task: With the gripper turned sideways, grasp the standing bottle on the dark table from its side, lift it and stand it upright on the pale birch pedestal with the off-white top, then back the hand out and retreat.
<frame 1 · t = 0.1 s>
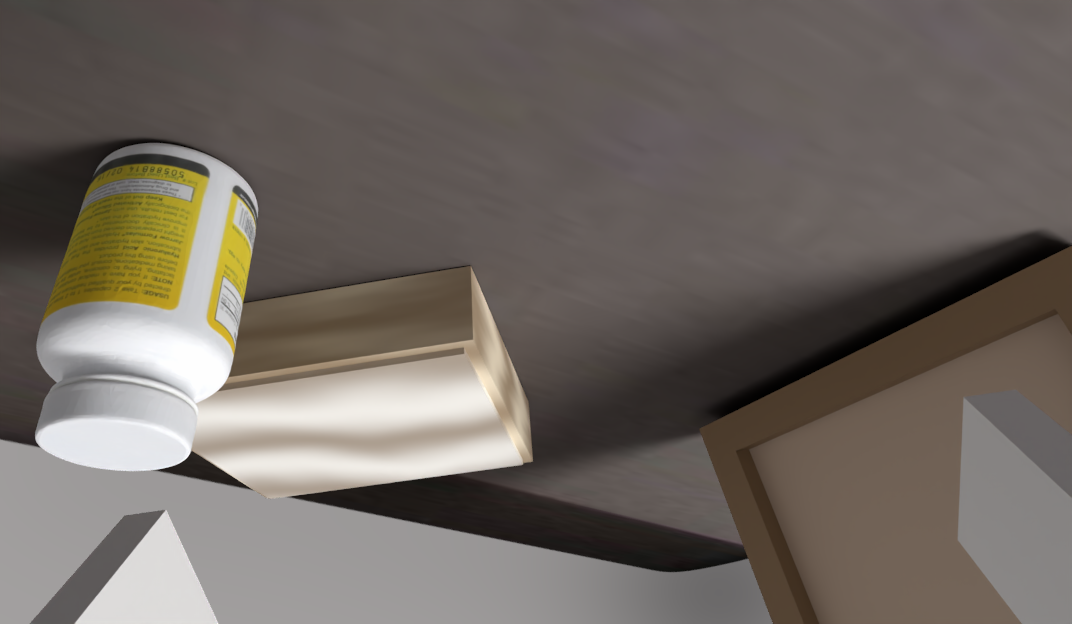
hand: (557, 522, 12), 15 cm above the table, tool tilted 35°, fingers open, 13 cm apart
photo frame: (914, 365, 43), on the table
pedestal: (354, 367, 37), on the table
supplement bottle: (182, 188, 26), on the table
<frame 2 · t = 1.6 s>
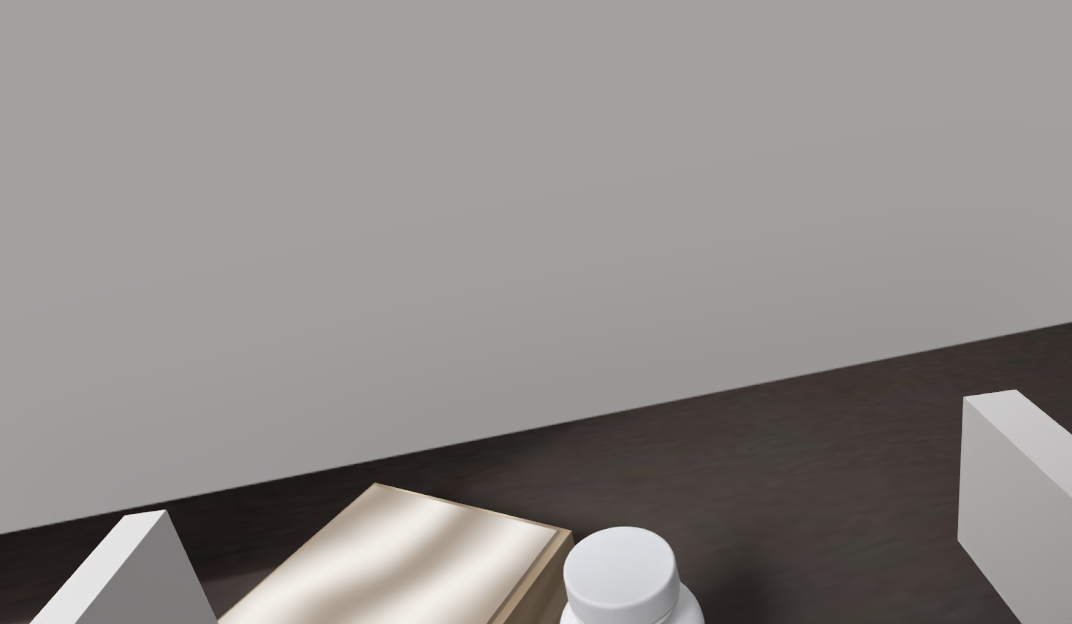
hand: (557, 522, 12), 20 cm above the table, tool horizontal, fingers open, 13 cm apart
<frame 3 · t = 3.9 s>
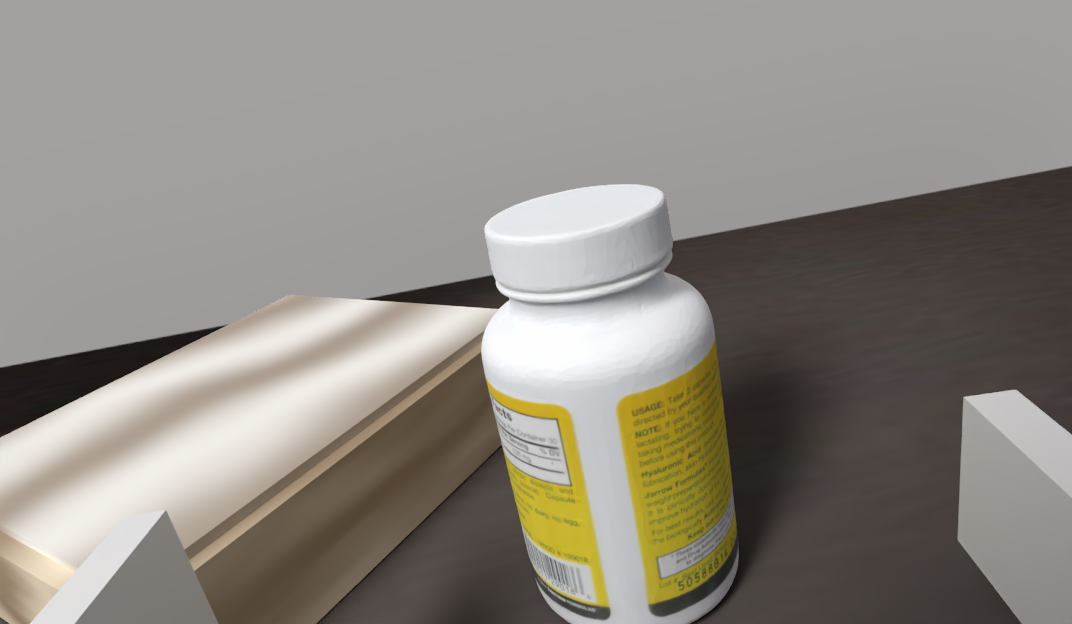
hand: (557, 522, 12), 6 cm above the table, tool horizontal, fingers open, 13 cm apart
pedestal: (275, 483, 26), on the table
supplement bottle: (636, 569, 19), on the table
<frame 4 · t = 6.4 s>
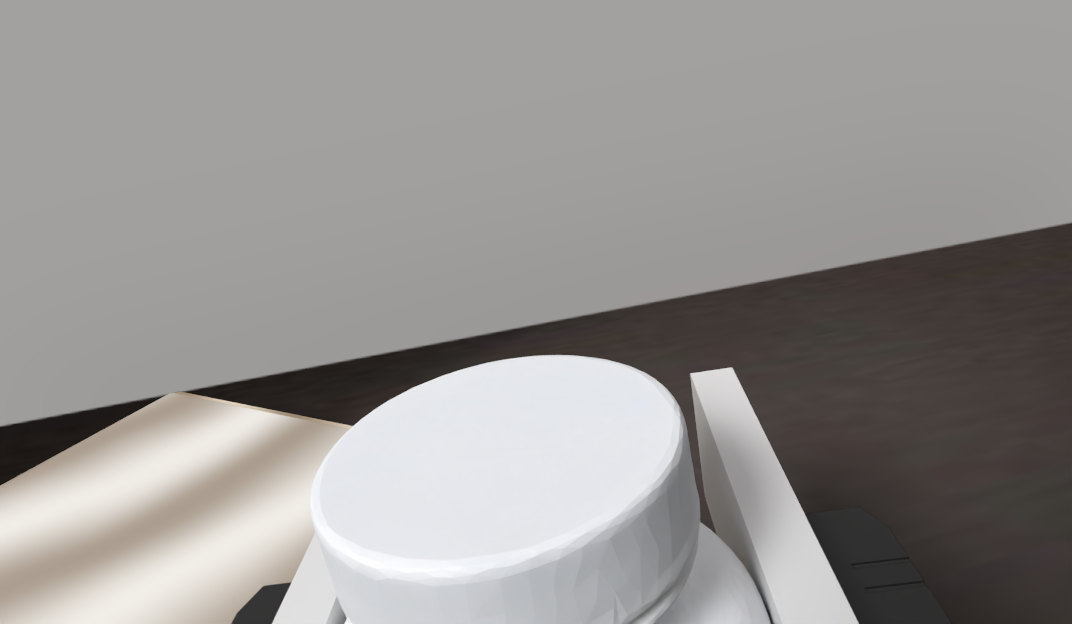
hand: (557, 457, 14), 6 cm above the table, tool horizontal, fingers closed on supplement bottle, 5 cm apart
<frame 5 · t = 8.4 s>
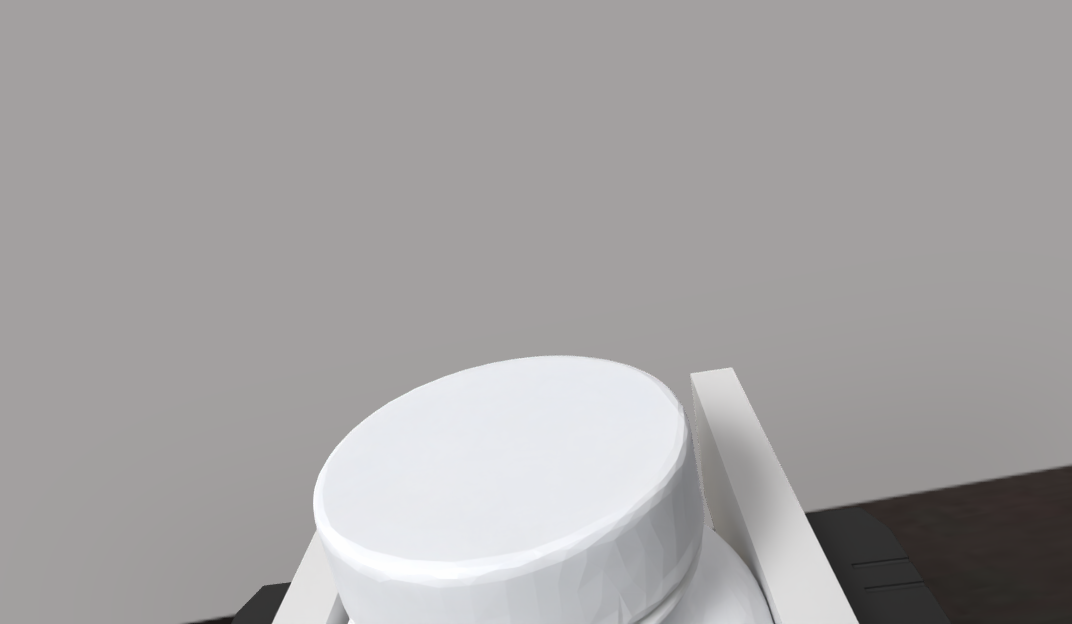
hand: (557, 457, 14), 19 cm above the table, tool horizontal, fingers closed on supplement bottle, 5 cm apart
when the fingers open (11 cm above the table, at t = 10.7 s): supplement bottle drops 1 cm, resting on pedestal.
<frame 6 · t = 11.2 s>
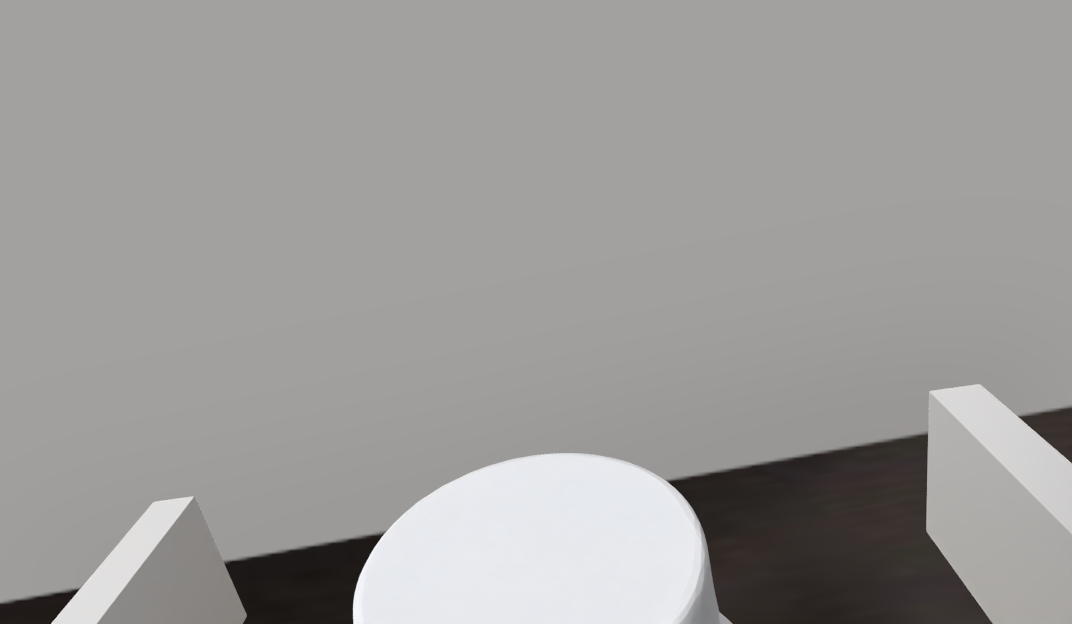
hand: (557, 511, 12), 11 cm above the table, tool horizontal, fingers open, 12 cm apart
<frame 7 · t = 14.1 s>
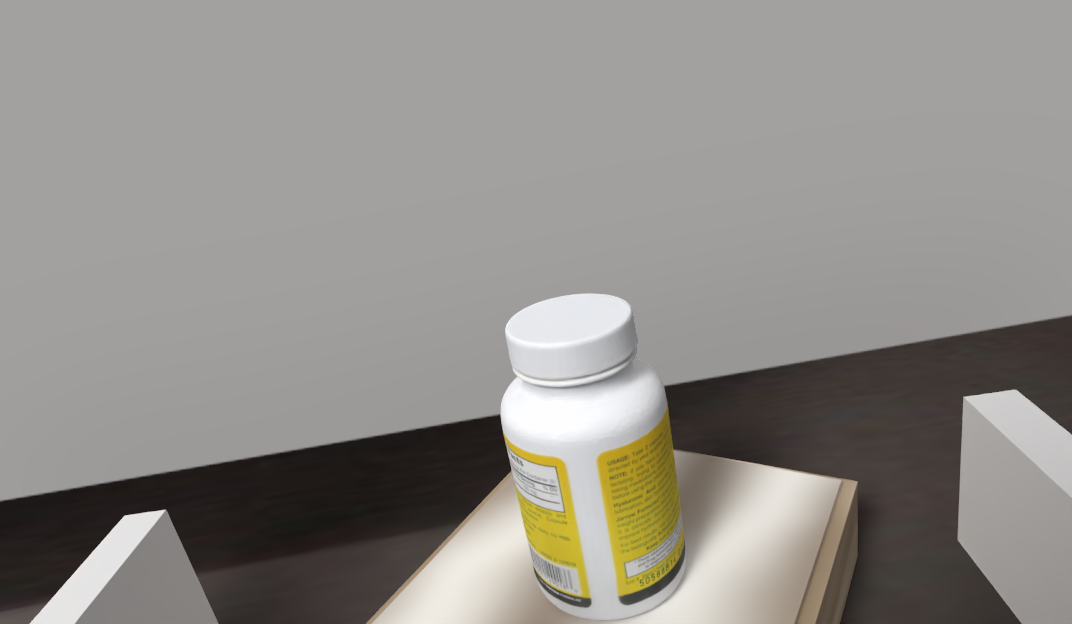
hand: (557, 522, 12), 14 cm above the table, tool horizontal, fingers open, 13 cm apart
supplement bottle: (610, 571, 26), point 4 cm above the table, touching pedestal
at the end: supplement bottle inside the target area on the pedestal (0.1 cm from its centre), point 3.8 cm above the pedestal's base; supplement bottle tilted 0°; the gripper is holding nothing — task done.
